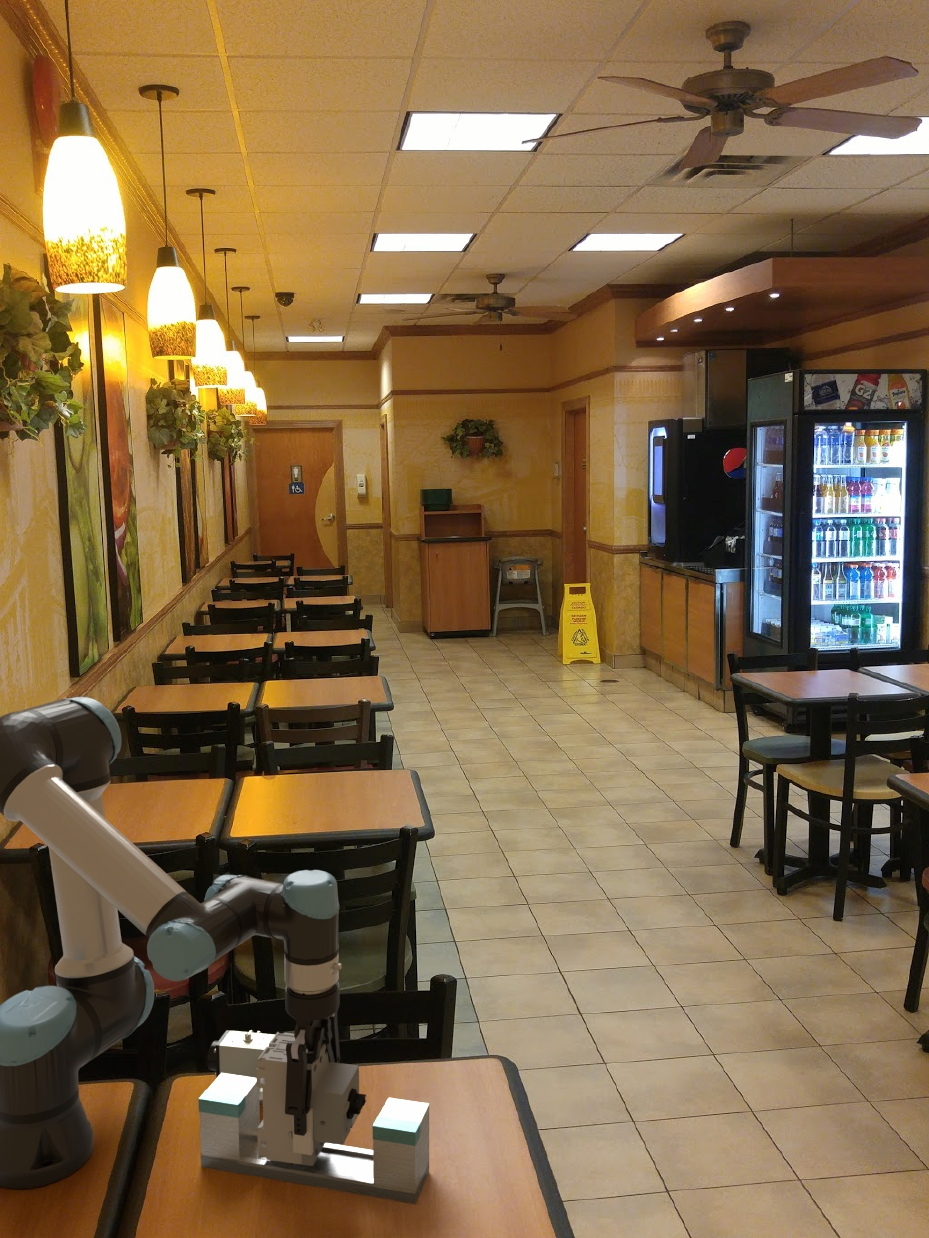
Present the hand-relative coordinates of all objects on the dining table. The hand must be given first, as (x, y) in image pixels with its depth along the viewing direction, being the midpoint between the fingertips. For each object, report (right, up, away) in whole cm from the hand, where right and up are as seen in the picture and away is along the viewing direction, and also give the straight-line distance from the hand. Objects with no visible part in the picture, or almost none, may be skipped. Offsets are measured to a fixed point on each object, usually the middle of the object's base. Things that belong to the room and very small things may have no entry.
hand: (314, 1134), depth 154 cm
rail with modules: (0, -5, +1) cm, 5 cm away
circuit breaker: (0, -2, 0) cm, 2 cm away
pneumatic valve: (-12, -3, +17) cm, 21 cm away
